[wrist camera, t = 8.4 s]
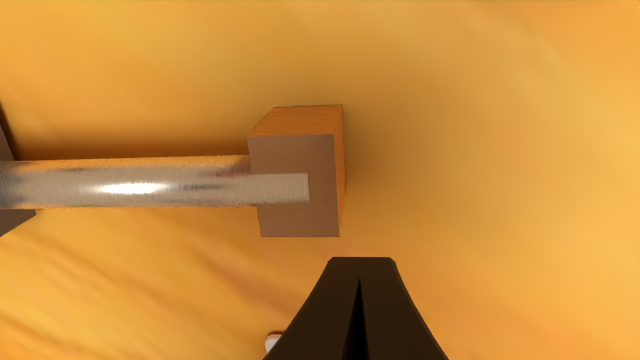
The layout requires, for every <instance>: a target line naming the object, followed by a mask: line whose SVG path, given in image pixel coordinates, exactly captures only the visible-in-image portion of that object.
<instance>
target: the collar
mask: <svg viewBox="0 0 640 360" xmlns="http://www.w3.org/2000/svg"><path fill="white" fill-rule="evenodd" d="M1 161H15V160H14V158H13V155H12V153H11V150H10V148H9V145H8V143H7V140H6V138H5V135H4V133H3V130H2V128H1V125H0V162H1ZM35 215H36V212H35V210H34V209H0V237H1V236H2V235H4V234H6V233H7V232H9V231H11V230H12V229H14V228H15V227H17V226H19V225H20V224H22V223H23V222H25V221H27V220H28V219H30V218H31V217H33V216H35Z"/></svg>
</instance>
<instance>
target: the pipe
mask: <svg viewBox="0 0 640 360" xmlns="http://www.w3.org/2000/svg"><path fill="white" fill-rule="evenodd" d="M247 144H248V150H249V155H223V156H186V157H149V158H112V159H75V160H38V161H1V162H0V209H91V208H206V207H257V211H258V218H259V224H260V231H261V237H340V230H341V223H342V215H343V207H344V199H345V192H346V180H345V159H344V138H343V117H342V105H322V106H299V107H276V108H273V109H272V110H271V111H270V112H269V114H268V115H267V116H266V117H265V118H264V119H263V120H262V121H261V122H260V123H259V124H258V125H257V126H256V127H255V128H254V129H253V130H252V131H251V132H250V133H249V135H248V136H247Z"/></svg>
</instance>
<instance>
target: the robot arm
mask: <svg viewBox="0 0 640 360" xmlns="http://www.w3.org/2000/svg"><path fill="white" fill-rule="evenodd" d="M265 347H266V353H267V355H266V356H265V357H264V359H263V360H449V359H448V358H447V356H446V355H445V353H444V352H443V350H442V349H441V347H440V346H439V344H438V343H437V341H436V340H435V338H434V337H433V335H432V333H431V332H430V330H429V328H428V327H427V325H426V323H425V322H424V320H423V318H422V317H421V315H420V313H419V312H418V310H417V308H416V306H415V305H414V303H413V301H412V299H411V297H410V295H409V293H408V291H407V289H406V287H405V285H404V283H403V281H402V279H401V277H400V274H399V272H398V269H397V266H396V263H395V261H393V260H392V259H391V258H390V257H333V258H332V259H330V260H329V261H328V263H327V265H326V267H325V269H324V271H323V273H322V275H321V277H320V278H319V280H318V282H317V284H316V285H315V287H314V289H313V290H312V292H311V293H310V295H309V297H308V298H307V300H306V301H305V303H304V304H303V306H302V307H301V309H300V310H299V312H298V313H297V315H296V316H295V317H294V319H293V320H292V322H291V323H290V325H289V326H288V328H287V329H286V330H285V332H284V333H283V334H282V335H278V334H273V335H269V336H268V337H267V339H266V342H265Z"/></svg>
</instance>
